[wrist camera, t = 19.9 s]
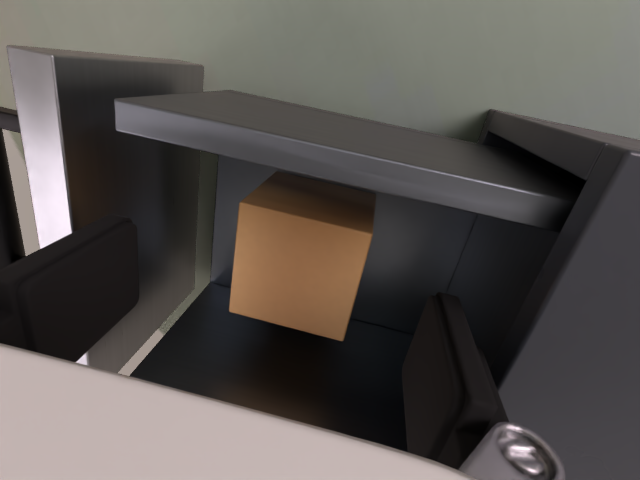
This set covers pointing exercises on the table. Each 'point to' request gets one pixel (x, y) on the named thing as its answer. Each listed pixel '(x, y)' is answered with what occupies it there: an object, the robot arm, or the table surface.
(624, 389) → the cabinet
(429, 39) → the table surface
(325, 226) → the block
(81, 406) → the robot arm
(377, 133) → the pull-out drawer
